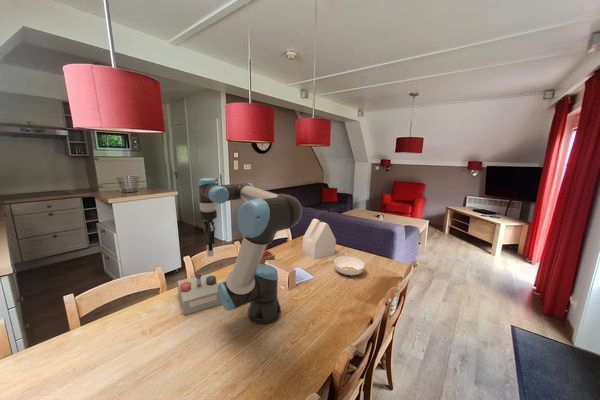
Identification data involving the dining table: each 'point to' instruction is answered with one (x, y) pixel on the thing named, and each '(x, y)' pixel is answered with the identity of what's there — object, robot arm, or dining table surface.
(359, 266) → the bowl
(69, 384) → the dining table surface
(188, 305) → the control box
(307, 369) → the dining table surface
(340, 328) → the dining table surface
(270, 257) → the brown wooden crate
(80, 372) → the dining table surface
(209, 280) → the knob black
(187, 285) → the knob red
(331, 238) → the white house shaped block
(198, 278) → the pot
